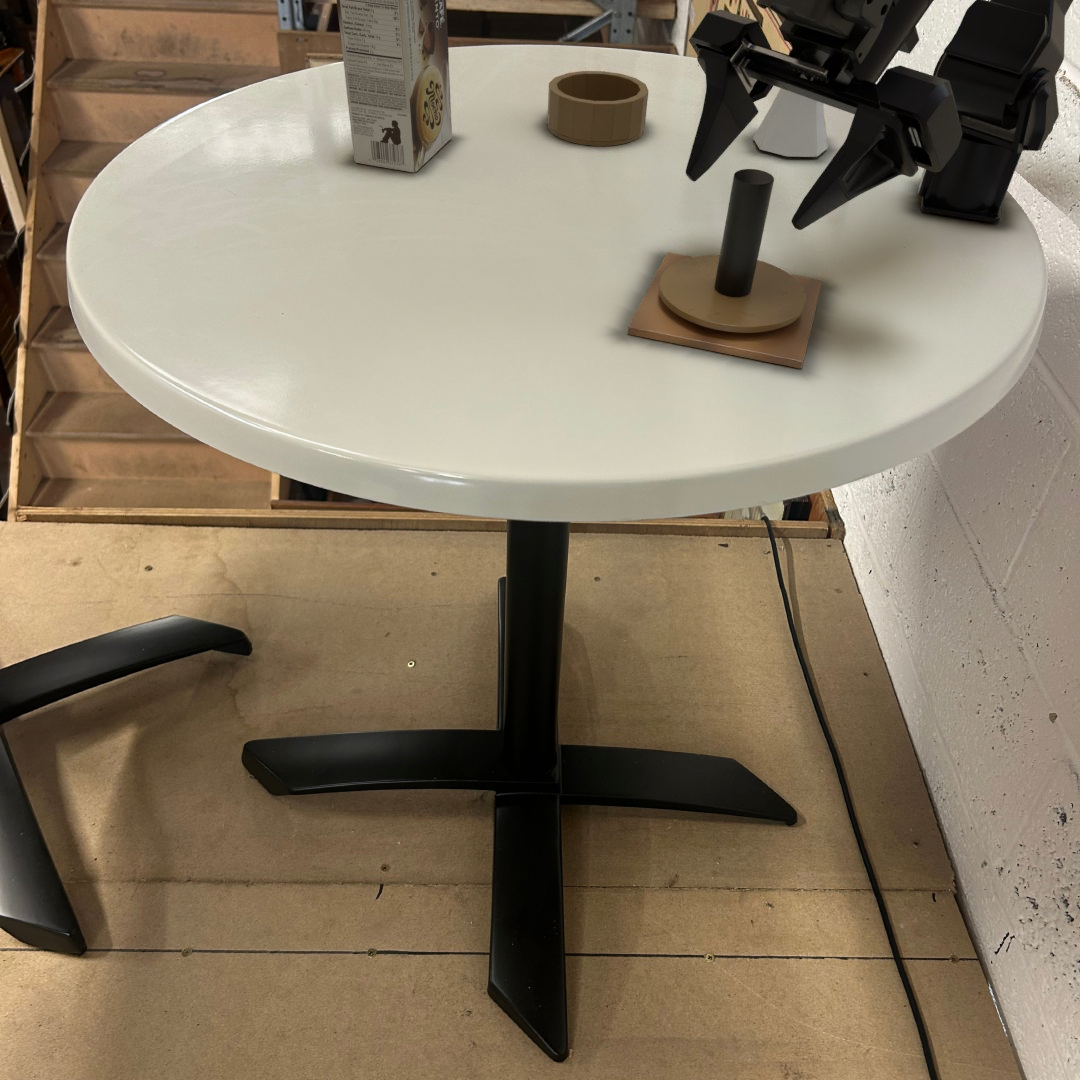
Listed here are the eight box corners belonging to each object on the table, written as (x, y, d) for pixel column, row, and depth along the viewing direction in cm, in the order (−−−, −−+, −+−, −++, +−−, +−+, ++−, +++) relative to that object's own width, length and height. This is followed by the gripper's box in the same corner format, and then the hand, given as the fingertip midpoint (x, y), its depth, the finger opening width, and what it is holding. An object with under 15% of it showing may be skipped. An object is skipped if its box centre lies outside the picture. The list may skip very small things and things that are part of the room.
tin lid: (711, 254, 71) (732, 134, 65) (830, 303, 66) (864, 177, 60) (628, 301, 65) (642, 175, 59) (751, 358, 61) (780, 226, 54)
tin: (653, 119, 94) (657, 78, 91) (629, 152, 87) (633, 109, 85) (564, 105, 96) (566, 65, 93) (534, 137, 89) (535, 95, 87)
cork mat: (820, 287, 69) (822, 279, 69) (801, 369, 61) (803, 361, 60) (666, 259, 72) (666, 251, 71) (627, 334, 63) (628, 326, 63)
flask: (828, 137, 92) (855, 27, 85) (825, 164, 87) (853, 49, 80) (756, 128, 93) (777, 18, 86) (748, 154, 88) (769, 40, 81)
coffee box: (393, 129, 90) (377, -64, 79) (454, 139, 88) (447, -57, 77) (351, 163, 83) (327, -42, 72) (416, 174, 82) (402, -34, 71)
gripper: (732, -140, 56) (586, 86, 59) (1010, -87, 46) (820, 183, 48) (787, -12, 65) (659, 179, 68) (1029, 56, 55) (868, 277, 58)
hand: (740, 200), depth 60 cm, fingers open, 9 cm apart
